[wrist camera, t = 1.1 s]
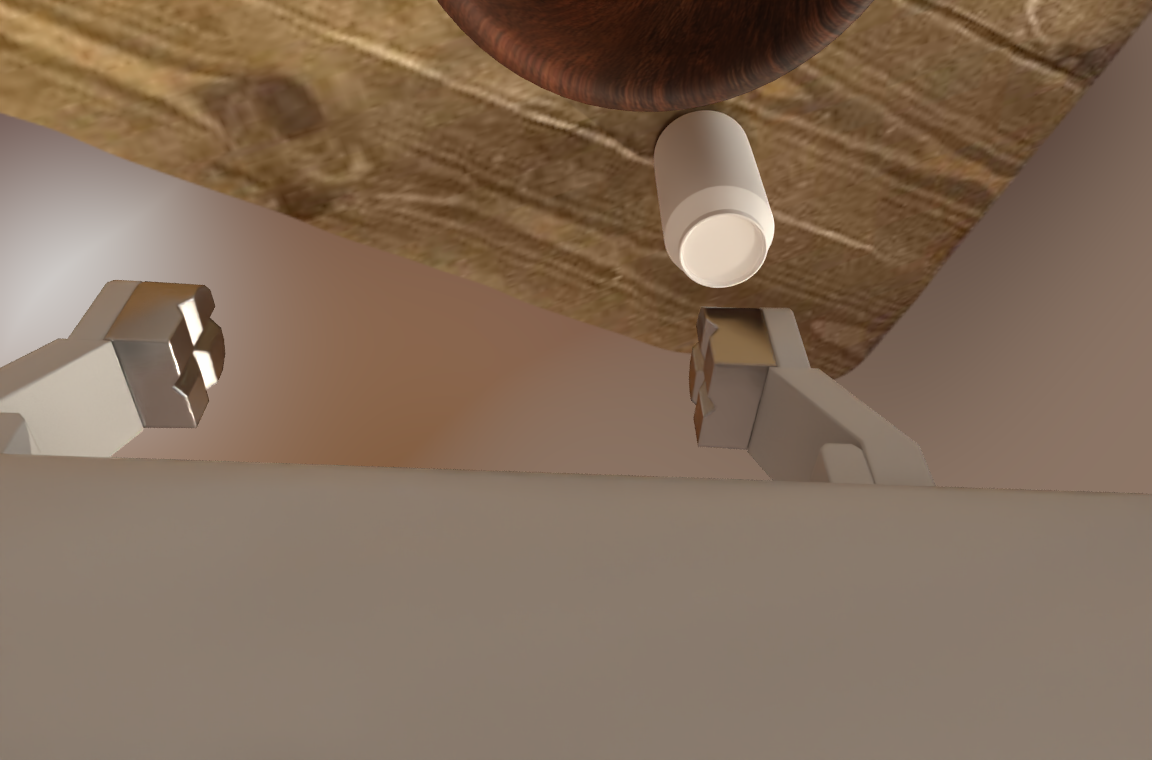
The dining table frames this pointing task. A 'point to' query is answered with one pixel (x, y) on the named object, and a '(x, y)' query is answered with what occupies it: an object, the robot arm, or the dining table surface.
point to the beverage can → (711, 199)
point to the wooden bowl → (652, 45)
